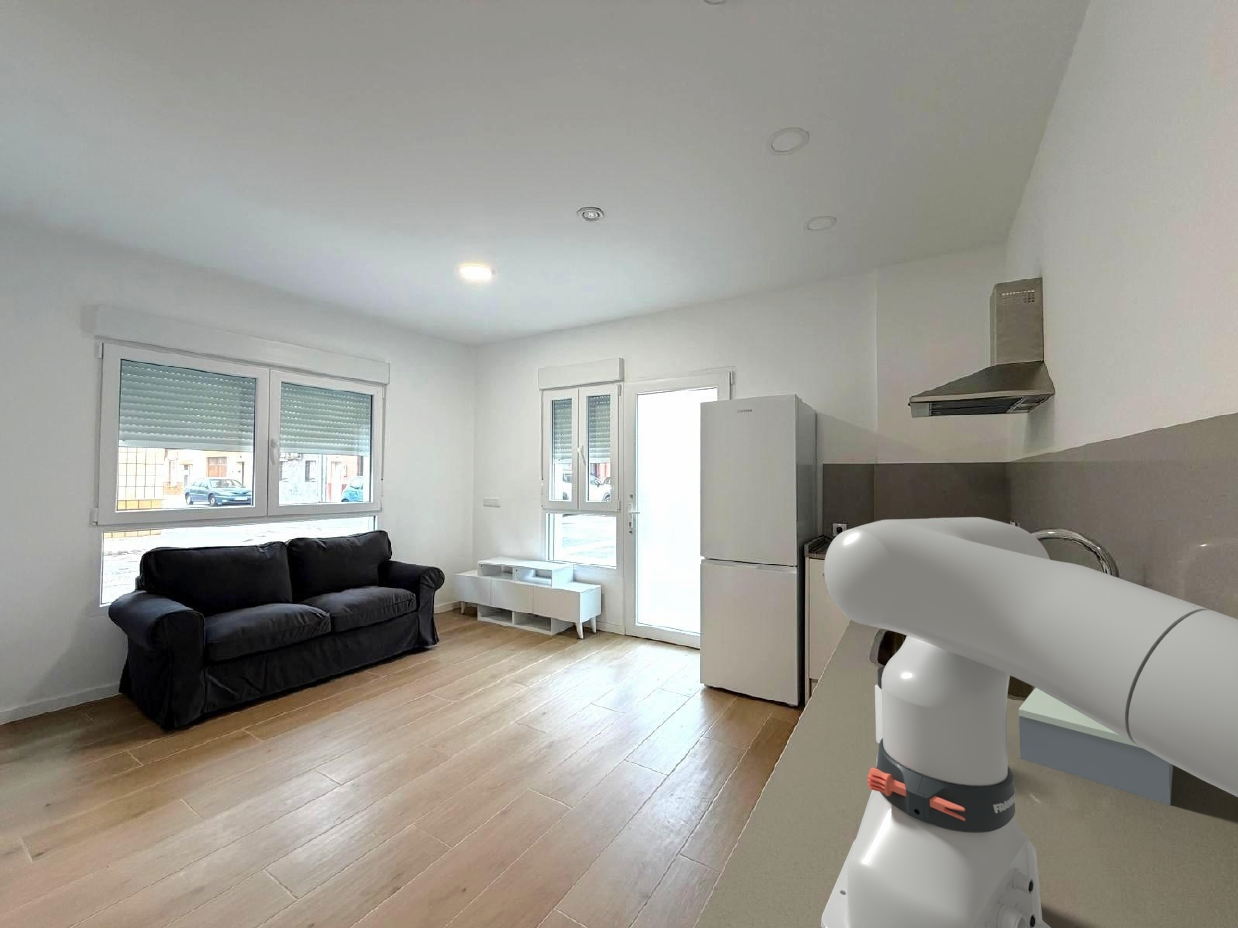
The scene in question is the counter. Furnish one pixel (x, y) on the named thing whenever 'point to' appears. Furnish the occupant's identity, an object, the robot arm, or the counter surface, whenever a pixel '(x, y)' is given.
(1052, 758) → the box
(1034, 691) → the lid
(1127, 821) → the counter surface
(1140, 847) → the counter surface
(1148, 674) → the robot arm
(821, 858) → the counter surface
